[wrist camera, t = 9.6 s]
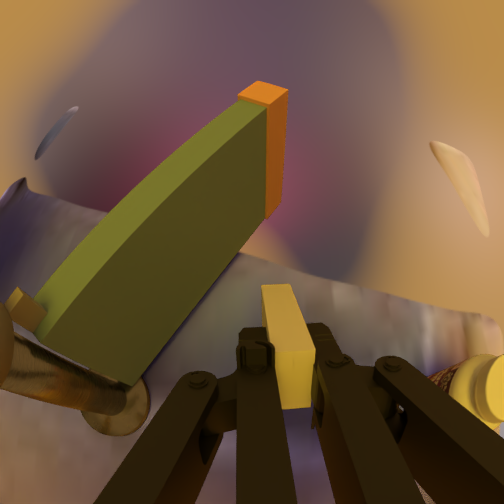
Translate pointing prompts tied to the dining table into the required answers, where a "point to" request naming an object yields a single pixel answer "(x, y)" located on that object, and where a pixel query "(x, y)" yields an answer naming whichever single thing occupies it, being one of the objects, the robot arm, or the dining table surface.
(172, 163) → the barrier arm
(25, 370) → the hinge post
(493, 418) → the pill bottle
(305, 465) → the dining table surface
